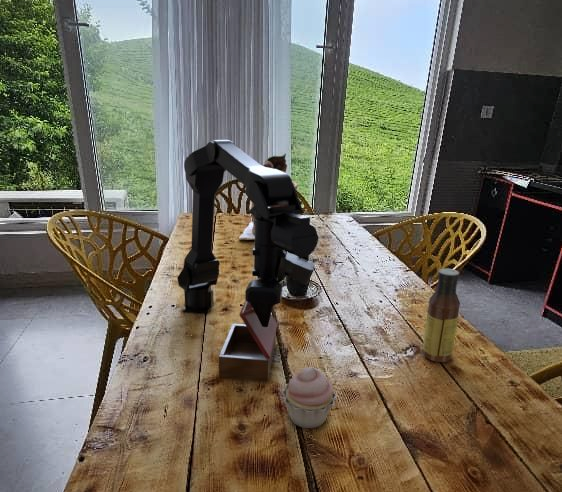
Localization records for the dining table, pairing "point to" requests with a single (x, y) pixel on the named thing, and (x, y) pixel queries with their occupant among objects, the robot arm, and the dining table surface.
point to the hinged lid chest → (243, 356)
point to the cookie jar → (249, 232)
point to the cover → (259, 329)
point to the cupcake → (309, 398)
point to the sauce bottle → (442, 318)
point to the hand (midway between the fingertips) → (267, 316)
